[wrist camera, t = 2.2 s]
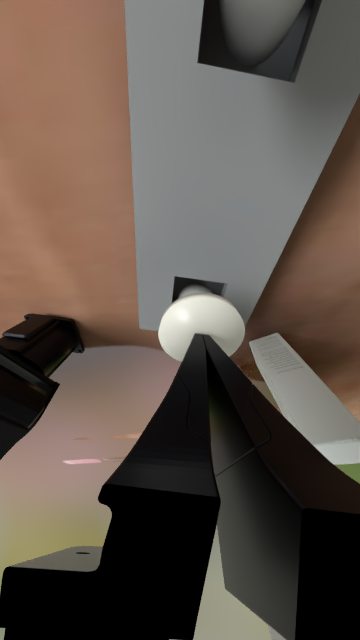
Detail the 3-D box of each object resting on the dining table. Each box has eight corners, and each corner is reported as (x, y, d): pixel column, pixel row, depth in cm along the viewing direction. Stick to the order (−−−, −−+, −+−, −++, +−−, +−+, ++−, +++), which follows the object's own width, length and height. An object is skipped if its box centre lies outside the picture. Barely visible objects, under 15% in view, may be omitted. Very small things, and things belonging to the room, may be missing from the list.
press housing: (225, 315, 18) (237, 341, 14) (150, 305, 18) (139, 328, 13) (348, -13, 7) (589, -374, 3) (154, -60, 7) (99, -559, 2)
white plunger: (215, 326, 14) (228, 369, 10) (166, 320, 13) (156, 360, 9) (232, 277, 11) (260, 306, 7) (170, 268, 11) (160, 292, 7)
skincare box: (283, 357, 22) (365, 463, 12) (256, 364, 23) (309, 466, 13) (278, 330, 19) (380, 441, 9) (247, 340, 20) (306, 447, 10)
